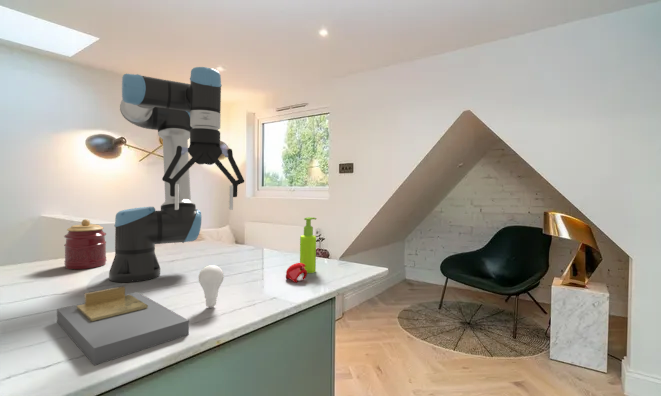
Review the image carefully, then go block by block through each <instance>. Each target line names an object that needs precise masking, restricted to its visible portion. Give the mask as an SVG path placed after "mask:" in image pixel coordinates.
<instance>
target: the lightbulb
mask: <svg viewBox="0 0 661 396" xmlns="http://www.w3.org/2000/svg"><path fill="white" fill-rule="evenodd" d="M224 278H225V276H224V272H223V270H222V268H221V267H219V266H217V265H216V264H215V265H214V264H210V265H207V266H205V267H203V268H202V269H201V270H200V271H199V274H198V283H199V285H200V287H201V289H202V290H203V293H204V299H205V306H206V307H208V308H209V309H212V308H214V307H215V306H217V299H218V294H219V289H220V287H221V286H222V283H223V281H224Z"/></svg>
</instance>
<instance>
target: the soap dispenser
mask: <svg viewBox="0 0 661 396" xmlns="http://www.w3.org/2000/svg"><path fill="white" fill-rule="evenodd" d="M303 220H304V221H306V222H305V226H303V235H302V234H301V235H300V239H299V240H300V241H299V244H300V245H299V263H303V264H305V265H306V266H305V267H304V268H305V270H306V271H307V274H311V273H312V274H313V273H316V269H317V267H316V266H317V265H316V263H317V261H316V260H317V258H316V257H317V236H316V235H313V234H314V227H313V226H312V225H311V223H312V222H311V221H312V220H317V218H316V217H310V216H309V217H308V216H307V217H304V218H303Z"/></svg>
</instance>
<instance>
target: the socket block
mask: <svg viewBox="0 0 661 396" xmlns="http://www.w3.org/2000/svg"><path fill="white" fill-rule="evenodd" d="M126 295H131V296H133V297H135V298H136V299H138V300H140V301H141V302H143V303H145V304H146V305H148V308H145V309H141V310H137V311H133V312H129V313H124V314H120V315H116V316H112V317H108V318H104V319H100V320H96V321H92V322H91V321H90V320H89V319H88V318H87V317H86V316H85V315H83V314H82V313H81V312H80V311H79V310H78V309H77V306H78V305H83V304H85V302H84V303H83V302H82V303H79V304H75V305H70V306H66V307H65V306H64V307H60V308H56V323H57V324H58V325H59V326H60V327H61V329H62V330H63V331H64V332H65V333H66V334H67V336H68V337H69V338H70V339H71V340H72V341H73V342H74V343H75V344H76V346H77V347H78V348H79V350H81V352H82V353H83V355H85V356H86V357H87V359H88V360H89V361H90V362H91V363H92V365H94V366H96V365H99V364H102V363H106V362H108V361H113V360H114V359H117V358H121V357H124V356H127V355H130V354H134V353H137V352H139V351H142V350H146V349H149V348H151V347H154V346H157V345H161V344H164V343H166V342H169V341H173V340H176V339H179V338H182V337H185V336H188V335H189V334H190V333H189V332H190V329H189V328H190V325H189V324H190V320H189V319H187V318H185V317H184V316H181V315H180V314H178V313H176V312H174V311H173V310H171V309H169V308H167V307H165V306H164V305H162V304H160V303H158V302H156V301H155V300H153V299H151V298H149V297H147V296H146V295H144V294H142V293H141V292H139V291H138V292H137V291H136V292H133V293H127V294H125V296H126Z"/></svg>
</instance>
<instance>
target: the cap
mask: <svg viewBox="0 0 661 396" xmlns="http://www.w3.org/2000/svg"><path fill="white" fill-rule="evenodd" d="M305 266H306V265H305V264H303V263H300V262H296V263H294V264H291V265H290V266H288V268H287V270H286V272H285V273H286V274H285V278H286V279H287V280H291V281H292V282H293V283H298V279H299V277H300V276H301V275H302V274H303V276H302V280H303V281H304V280H305V279H306V277H307V275H308V273H307V271H306V270H305V268H304V267H305Z"/></svg>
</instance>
